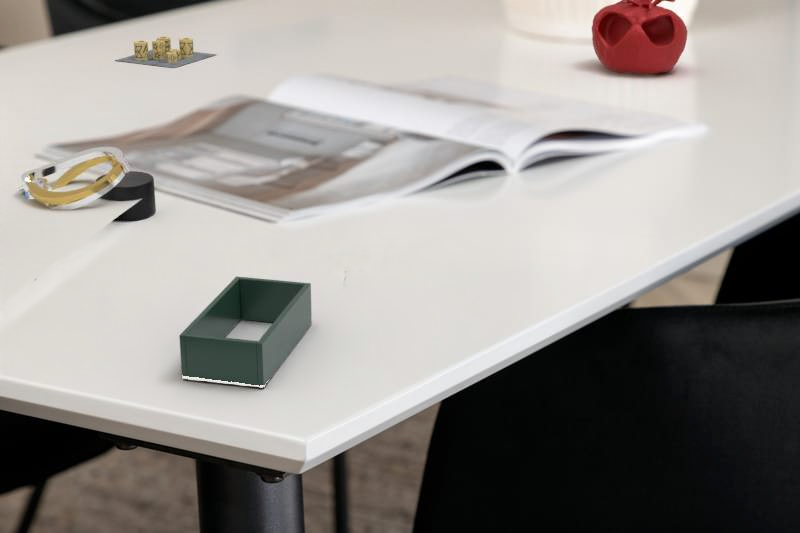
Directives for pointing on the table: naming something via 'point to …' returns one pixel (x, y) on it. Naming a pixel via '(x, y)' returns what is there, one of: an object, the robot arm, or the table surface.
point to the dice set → (165, 53)
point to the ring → (84, 161)
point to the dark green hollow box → (246, 358)
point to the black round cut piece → (134, 195)
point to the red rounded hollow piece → (638, 37)
